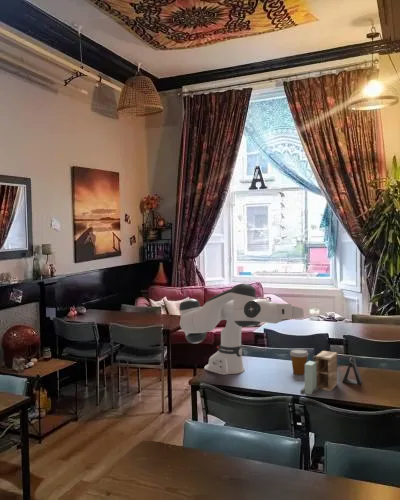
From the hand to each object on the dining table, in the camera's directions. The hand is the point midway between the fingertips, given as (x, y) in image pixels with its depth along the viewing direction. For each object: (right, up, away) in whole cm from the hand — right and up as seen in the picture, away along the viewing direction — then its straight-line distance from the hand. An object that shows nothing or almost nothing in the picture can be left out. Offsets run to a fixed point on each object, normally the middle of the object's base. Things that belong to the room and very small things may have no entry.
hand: (289, 315), depth 204 cm
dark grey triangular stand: (+37, -37, +26) cm, 58 cm away
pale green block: (+13, -38, +13) cm, 42 cm away
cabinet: (+18, -38, +17) cm, 45 cm away
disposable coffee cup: (+13, -37, +41) cm, 57 cm away
